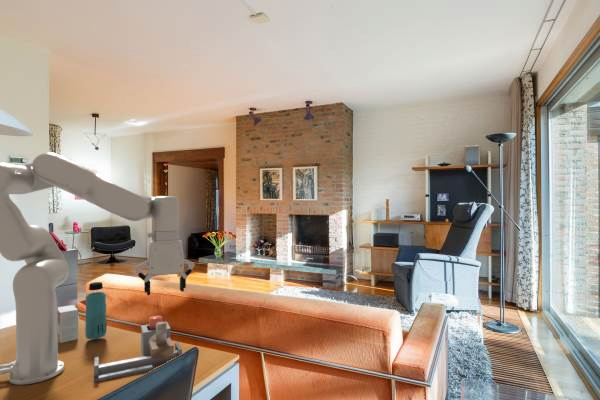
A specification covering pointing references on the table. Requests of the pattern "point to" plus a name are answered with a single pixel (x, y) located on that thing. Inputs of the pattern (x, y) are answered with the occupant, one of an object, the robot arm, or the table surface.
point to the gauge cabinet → (149, 338)
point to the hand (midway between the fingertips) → (165, 292)
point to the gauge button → (154, 321)
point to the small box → (67, 323)
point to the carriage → (161, 343)
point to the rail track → (131, 369)
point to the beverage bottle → (95, 312)
